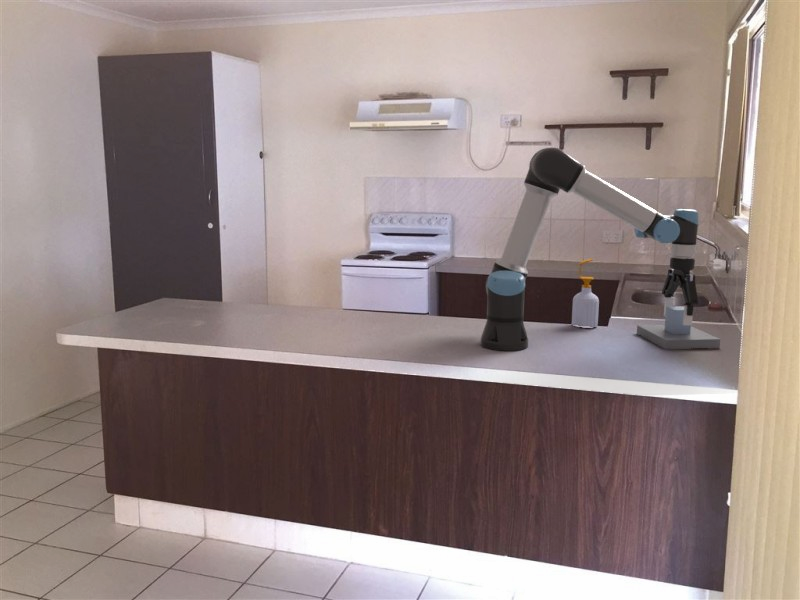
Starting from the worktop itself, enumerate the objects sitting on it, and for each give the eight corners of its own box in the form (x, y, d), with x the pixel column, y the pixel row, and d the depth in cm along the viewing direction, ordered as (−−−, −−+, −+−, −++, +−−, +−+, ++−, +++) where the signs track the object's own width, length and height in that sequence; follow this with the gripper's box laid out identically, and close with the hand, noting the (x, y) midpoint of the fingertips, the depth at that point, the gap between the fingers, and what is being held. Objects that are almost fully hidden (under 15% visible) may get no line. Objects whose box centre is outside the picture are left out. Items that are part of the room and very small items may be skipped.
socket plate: (665, 349, 232) (666, 340, 232) (636, 333, 254) (637, 325, 253) (719, 348, 234) (720, 339, 234) (686, 332, 256) (686, 324, 255)
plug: (672, 341, 241) (674, 310, 239) (663, 337, 247) (666, 306, 245) (689, 341, 241) (692, 309, 239) (680, 336, 247) (683, 306, 245)
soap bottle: (598, 329, 260) (602, 260, 256) (571, 328, 262) (575, 259, 257) (596, 324, 269) (600, 257, 264) (571, 323, 270) (574, 256, 266)
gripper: (713, 262, 227) (707, 328, 231) (675, 252, 252) (670, 313, 255) (690, 262, 226) (684, 329, 230) (654, 252, 251) (650, 313, 255)
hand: (677, 320), depth 243 cm, fingers open, 13 cm apart
